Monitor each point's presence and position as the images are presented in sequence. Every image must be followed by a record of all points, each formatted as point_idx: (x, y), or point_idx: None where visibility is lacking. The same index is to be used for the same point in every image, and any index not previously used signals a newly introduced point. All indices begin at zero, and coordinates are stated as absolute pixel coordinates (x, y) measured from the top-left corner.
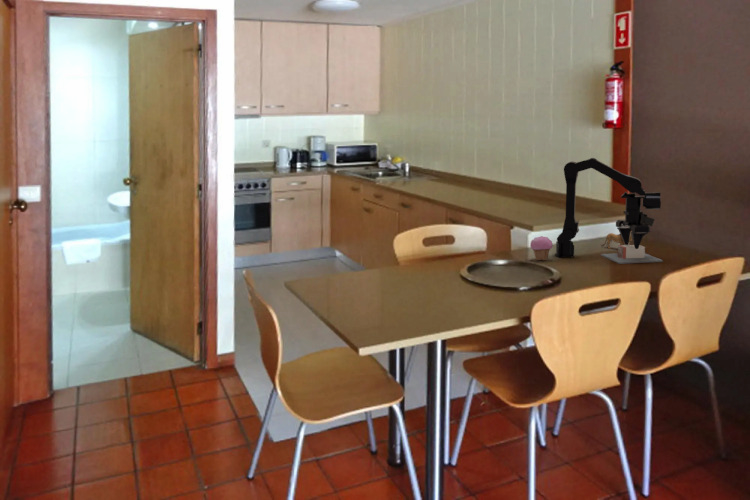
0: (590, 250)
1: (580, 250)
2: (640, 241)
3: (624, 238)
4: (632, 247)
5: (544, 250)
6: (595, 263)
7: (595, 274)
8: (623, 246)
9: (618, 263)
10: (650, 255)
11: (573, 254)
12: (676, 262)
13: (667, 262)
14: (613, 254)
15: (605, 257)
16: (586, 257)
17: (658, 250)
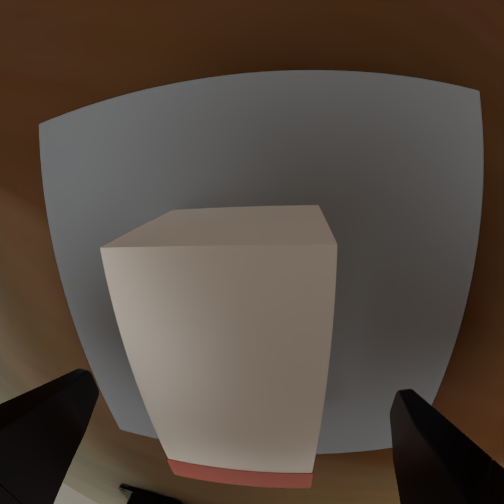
0: (15, 380)
1: None
2: (485, 459)
3: (63, 458)
4: (319, 427)
5: None
6: (343, 497)
7: None
8: (242, 472)
9: None
10: (194, 81)
11: (158, 501)
12: (490, 15)
13: (493, 75)
14: (125, 385)
15: None
16: (183, 481)
17: (8, 8)
